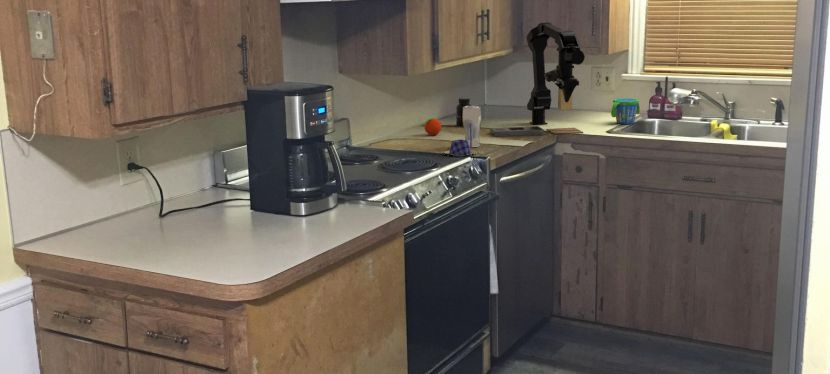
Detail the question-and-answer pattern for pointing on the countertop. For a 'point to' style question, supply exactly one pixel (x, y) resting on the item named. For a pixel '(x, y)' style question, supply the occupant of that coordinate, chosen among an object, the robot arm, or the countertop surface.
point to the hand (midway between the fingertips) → (564, 101)
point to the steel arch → (517, 131)
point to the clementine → (432, 126)
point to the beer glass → (472, 124)
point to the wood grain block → (563, 101)
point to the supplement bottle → (461, 110)
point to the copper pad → (564, 131)
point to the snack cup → (625, 110)
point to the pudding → (459, 147)
